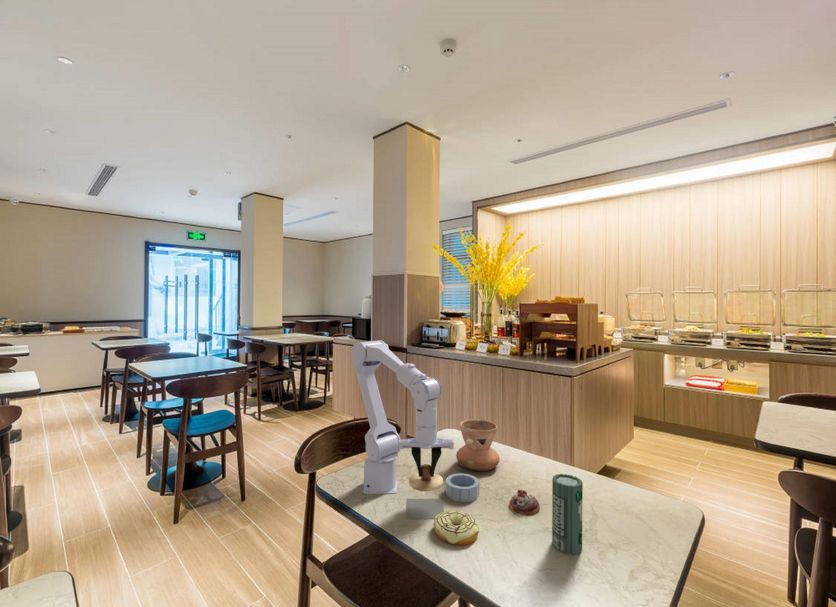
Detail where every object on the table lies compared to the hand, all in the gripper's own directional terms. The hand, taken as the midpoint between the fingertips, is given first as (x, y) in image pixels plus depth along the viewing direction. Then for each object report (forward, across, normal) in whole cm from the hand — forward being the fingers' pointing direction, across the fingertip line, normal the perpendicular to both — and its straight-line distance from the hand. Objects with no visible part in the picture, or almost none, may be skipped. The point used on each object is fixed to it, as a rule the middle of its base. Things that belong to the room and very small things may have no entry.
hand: (426, 475), depth 102 cm
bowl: (+9, +11, +8) cm, 16 cm away
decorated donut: (+10, +7, -11) cm, 16 cm away
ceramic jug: (+10, +19, +28) cm, 35 cm away
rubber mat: (+9, 0, 0) cm, 9 cm away
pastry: (+10, +27, +1) cm, 28 cm away
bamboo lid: (+2, 0, 0) cm, 2 cm away
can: (+9, +32, -15) cm, 36 cm away
